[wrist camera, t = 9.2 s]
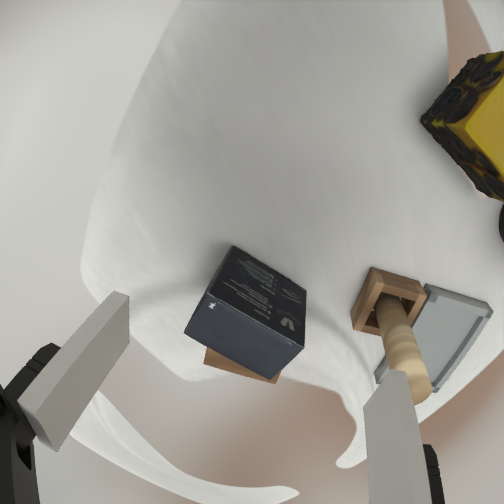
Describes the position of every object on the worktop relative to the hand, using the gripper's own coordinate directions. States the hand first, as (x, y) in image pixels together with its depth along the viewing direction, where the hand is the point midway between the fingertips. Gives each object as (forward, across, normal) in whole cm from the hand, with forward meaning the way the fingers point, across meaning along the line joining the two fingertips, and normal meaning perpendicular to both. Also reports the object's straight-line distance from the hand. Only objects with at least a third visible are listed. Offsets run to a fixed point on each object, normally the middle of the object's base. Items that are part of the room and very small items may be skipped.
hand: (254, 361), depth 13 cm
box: (+20, -1, -9) cm, 22 cm away
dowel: (+20, +13, -6) cm, 25 cm away
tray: (+20, +22, -10) cm, 31 cm away
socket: (+20, +13, -6) cm, 25 cm away
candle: (+20, +16, +15) cm, 30 cm away
